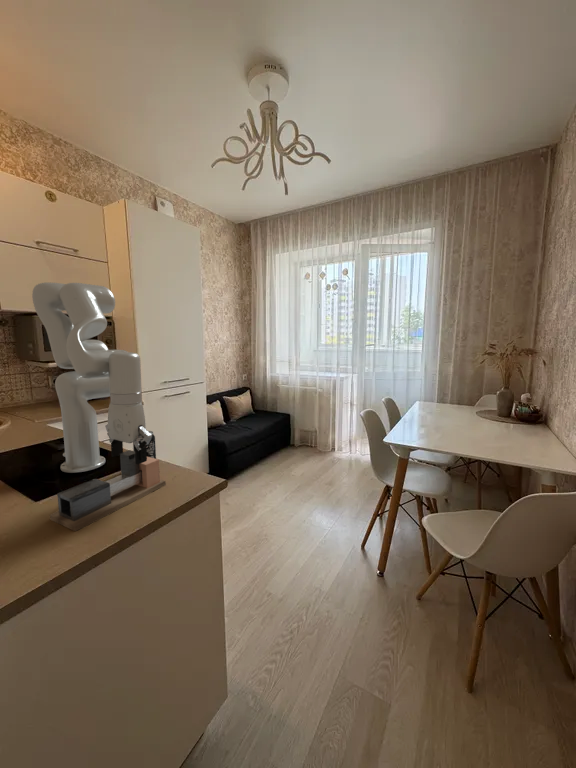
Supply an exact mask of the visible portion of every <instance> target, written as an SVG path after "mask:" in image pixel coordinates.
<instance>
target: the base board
mask: <svg viewBox="0 0 576 768" xmlns="http://www.w3.org/2000/svg"><path fill="white" fill-rule="evenodd" d="M166 484H167V482H166V480H163V479H160V482H159V483H157V484H155V485H153V486H151V487H149V488H145V487H142V486H139V485H134V486H132V487H129V488H127V489H125V490H123V491H121V492H119V493H117V494H114V495H112V496H111V504H109V505H107V506H105V507H103V508H101V509H99V510H97V511H95V512H93V513H91V514H89V515H87V516H84V517H82V518H80V519H78V520H76V521H72V520H69V519H67V518H65V517H63V516H60V515H59V510H57V511H55V512H53V513H50V514H49V520H50V521H53V522H54V523H56V524H59V525H60V526H63V527H65V528H67V529H70V530H71V531H74V532H77V531H79V530H81V529H83V528H85V527H87V526H88V525H91V524H92V523H94V522H97V521H98V520H100V519H102V518H104V517H107V516H108V515H110V514H112V513H115V512H116V511H118V510H119V509H122V508H124V507H125V506H128V505H129V504H131V503H133V502H136V501H137V500H139V499H141V498H143V497H146V496H147V495H149V494H151V493H153V492H155V491H157V490H158V489H161V488H163V487H164V486H166Z"/></svg>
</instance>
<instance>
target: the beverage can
mask: <svg viewBox="0 0 576 768" xmlns="http://www.w3.org/2000/svg"><path fill="white" fill-rule="evenodd" d="M147 431H148V432H149V433H150V434H151V435H152V438H151V441H150V444H149V445H148V447H147V457H151V458H155V459H157V453H156V451H157V450H156V436H155V435H154V431H151V430H147ZM138 443H139V444H141V441H138ZM132 449H133V450H132V451H135V450H137V449H136V447H135V445H134V443H132Z"/></svg>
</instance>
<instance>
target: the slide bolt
mask: <svg viewBox="0 0 576 768" xmlns="http://www.w3.org/2000/svg"><path fill="white" fill-rule="evenodd" d="M119 460H120V475H118V476H115V477H113V478H110V479H108V480H105V481H104V482H107V483H110V494H111V496H112V495H114V494H117V493H119V492H121V491H123V490H125V489H127V488H129V487H132V486H134V485H136V484H138V483H140V482H142V481H143V480H142V470H139V464H136V463H135V451H133V450H131V449H129V450H127V451H123V453H120V455H119Z"/></svg>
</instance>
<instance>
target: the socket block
mask: <svg viewBox="0 0 576 768" xmlns="http://www.w3.org/2000/svg"><path fill="white" fill-rule="evenodd" d="M139 470H142V480H143V481H142V482H140V483H138V484H136V485H139V486H142V487H145V488H149V487H151V486H153V485H155V484H157V483H159V482H160V480H161V476H160V474H161V473H160V472H161V471H160V459H159V458H156V459H155V458H151V457H147V461H145V462H143V463H141V464H139Z"/></svg>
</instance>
